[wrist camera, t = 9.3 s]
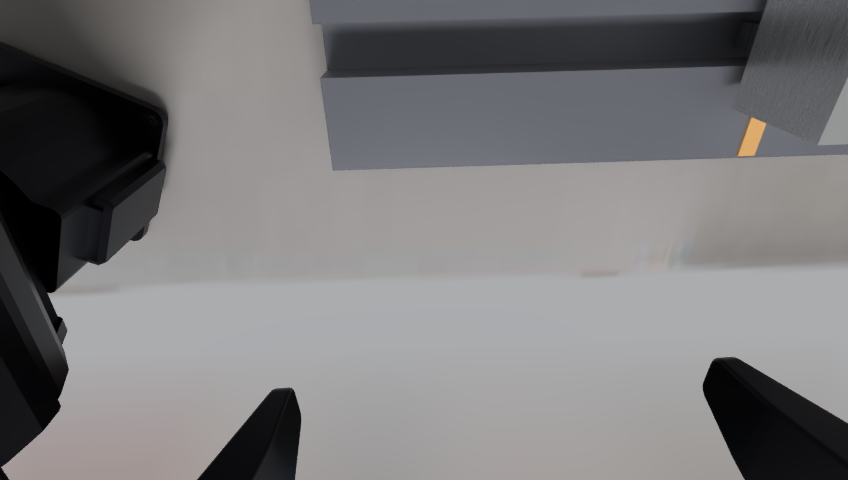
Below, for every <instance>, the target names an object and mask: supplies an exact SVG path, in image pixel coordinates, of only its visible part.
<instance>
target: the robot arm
mask: <svg viewBox="0 0 848 480" xmlns="http://www.w3.org/2000/svg"><path fill="white" fill-rule="evenodd" d="M148 115H152V116H153V117H154V118H155V119H156V121H157V124H153V123H152V122H150V120H149V119H148ZM167 126H168V118H167V116H166V114H165V113H164V112H163V110H161V109H160V108H158V107H156V106H154V105H152V104H149V103H147V102H144V101H142V100H139V99H137V98H135V97H132V96H130V95H127V94H125V93H122V92H120V91H118V90H115V89H113V88H110V87H108V86H105V85H103V84H101V83H98V82H96V81H93V80H91V79H89V78H86V77H84V76H81V75H79V74H76V73H74V72H72V71H69V70H67V69H64V68H62V67H59V66H57V65H55V64H52V63H50V62H47V61H45V60H42V59H40V58H38V57H35V56H33V55H30V54H28V53H26V52H23V51H21V50H18V49H16V48H13V47H11V46H9V45H6V44H4V43H1V42H0V480H9V479H8V477H7V476H6V474H5V473H4V471H3V470H2V468H1V467H2V466H3V465H5V464H6V463H7V462H9V461H10V460H11V459H12V458H13V457H14V456H15V455H16V454H18V453H19V452H20V451H21V450H22V449H23V448H24V447H25V446H27V445H28V444H29V443H30V442H31V441H32V440H33V439H34V438H36V437H37V435H39V434H40V433H41V432H42V431H43V430H44V429H45V428H46V427H47V425H48V424H49V423H50V422H51V420H52V419H53V418H54V417H55V415H56V414H57V413H58V412H59V410H60V407H61V405H60V403H59V401H58V398H59V396H60V394H61V392H62V389H63V386H64V382H65V380H66V376H67V374H68V370H69V369H68V364H67V360H66V356H65V352H64V349H63V347H62V344H63V341H64V338H65V336H66V333H67V328H66V326H65V323H64V321H63V319H62V318H61V317H58V316H57V314H56V312H55V310H54V308H53V305H52V303H51V301H50V298H49V296H48V294H47V293H52V292H55V291H56V290H57V289H58V288H59V287H61V286H62V285H63V284H64V283H65V282H66V281H67V280H68V279H69V278H71V277H72V276H73V275H74V274H75V273H76V272H77V271H78V270H80V269H81V268H82V267H83V266H84V265H85V264H86V263H87V262H90V263H93V264H96V265H100V264H103V263H105V262H107V261H108V260H109V259H110V258H111V257H112V256H113V255H115V254H116V253H117V252H118V251H119V250H120V249H121V248H122V247H123V246H124V245H125V244H126V243H127V242H128V241H129V240H132V241H138V240H140V239H141V238H142V237H143V236H144V235H145V234H146V233H147V231H148V226H149V221H150V220H151V219H152V218H153V217H154V216H155V215H156V214H157V212H158V208H159V202H160V197H161V192H162V187H163V182H164V177H165V172H166V166H165V164H164V162H163V161H162V160H161V157H162V152H163V147H164V142H165V136H166V131H167ZM703 392H704V396H705V398H706V400H707V402H708V405H709V407H710V409H711V411H712V413H713V415H714V418H715V420H716V422H717V424H718V426H719V429H720V431H721V433H722V435H723V437H724V440H725V442H726V444H727V446H728V448H729V451H730V453H731V455H732V457H733V459H734V461H735V463H736V465H737V466H738V468H739V470H740V472H741V474H742V476H743V477H744V479H745V480H848V423H846V422H845V421H843V420H841V419H840V418H838V417H836V416H834V415H833V414H831V413H829V412H828V411H826V410H824V409H823V408H821V407H819V406H818V405H816V404H814V403H812V402H811V401H809V400H807V399H806V398H804V397H802V396H801V395H799V394H797V393H796V392H794V391H792V390H790V389H788V388H787V387H785V386H784V385H782V384H780V383H778V382H777V381H775V380H774V379H772V378H770V377H768V376H767V375H765V374H763V373H762V372H760V371H758V370H757V369H755V368H753V367H752V366H750V365H748V364H747V363H745V362H743V361H741V360H739V359H738V358H734V357H726V358H725V357H724V358H716V359H714V360H713V361H712V363H711V365H710V368H709V370H708V372H707V375H706V377H705V380H704V382H703ZM300 429H301V413H300V409H299V405H298V402H297V398H296V395H295V392H294V390H293V389H292V388H279V389H274V390H272V391H271V392H270V393H269V394H268V395H267V397H266V398H265V399H264V400H263V401H262V403H261V404H260V405H259V406H258V407H257V409H256V410H255V411H254V412H253V413H252V415H251V416H250V417H249V418H248V419H247V421H246V422H245V423H244V424H243V425H242V427H241V428H240V429H239V430H238V432H237V433H236V434H235V435H234V436H233V437H232V439H231V440H230V441H229V442H228V443H227V445H226V446H225V447H224V448H223V449H222V451H221V452H220V453H219V454H218V455H217V457H216V458H215V459H214V460H213V461H212V462H211V464H210V465H209V466H208V467H207V469H206V470H205V471H204V472H203V473H202V475H201V476H200V477H199V478H198V479H197V480H295V473H296V464H297V456H298V446H299V438H300Z"/></svg>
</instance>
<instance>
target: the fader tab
mask: <svg viewBox="0 0 848 480" xmlns="http://www.w3.org/2000/svg"><path fill="white" fill-rule="evenodd" d="M734 48H739V49H743V50H747V51H751V52H750V55H749V58H748V61H747V64H746V67H745V70H744V73H743V76H742V80H741V83H740V86H739V89H738V92H737V95H736V98H735V101H734V104H733V107H732V109H734V110H736V111H738V112H741V113H743V114H745V115H748V116H750V117H752V118H755V119H757V120H759V121H762V122H764V123H766V124H769V125H771V126H773V127H776V128H778V129H780V130H783V131H785V132H787V133H790V134H792V135H795V136H797V137H799V138H802V139H804V140H806V141H809V142H811V143H813V144H816V145H842V144H848V0H768V1H767V4H766V7H765V10H764V13H763V16H762V19H761V21H749V22H741V25H740V28H739V31H738V34H737V37H736V41H735V44H734Z"/></svg>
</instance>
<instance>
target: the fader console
mask: <svg viewBox="0 0 848 480" xmlns="http://www.w3.org/2000/svg"><path fill="white" fill-rule="evenodd" d="M309 1H310V8H311V15H312V22H313V24H322V30H323V38H324V46H325V53H326V61H327V69H328V70H327V71H326V72H325V73H324V75H323V76H322V77H321V78H320V81H321V88H322V95H323V102H324V110H325V117H326V124H327V131H328V139H329V146H330V153H331V160H332V168H333V170H364V169H396V168H428V167H460V166H491V165H523V164H555V163H587V162H619V161H651V160H683V159H714V158H746V157H778V156H810V155H842V154H848V144H842V145H816V144H813V143H811V142H809V141H806V140H804V139H802V138H799V137H797V136H795V135H792V134H790V133H787V132H785V131H783V130H780V129H778V128H776V127H773V126H771V125H769V124H766V123H764V122H762V121H759V120H757V119H755V118H752V117H750V116H748V115H745V114H743V113H741V112H738V111H736V110H734V109H732V107H733V104H734V101H735V98H736V95H737V92H738V89H739V86H740V83H741V80H742V76H743V73H744V70H745V67H746V64H747V61H748V58H749V55H750V52H751V51H747V50H743V49H739V48H734V44H735V41H736V37H737V34H738V31H739V28H740V25H741V22H749V21H761V19H762V16H763V13H764V10H765V7H766V4H767V1H768V0H309Z"/></svg>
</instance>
